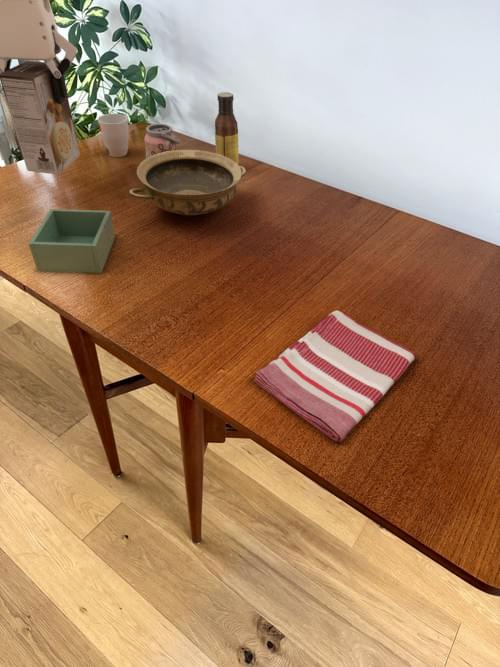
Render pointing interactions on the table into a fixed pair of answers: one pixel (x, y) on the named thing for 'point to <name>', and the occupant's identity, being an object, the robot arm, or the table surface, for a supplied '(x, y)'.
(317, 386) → the dish towel
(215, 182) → the ceramic bowl
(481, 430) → the table surface
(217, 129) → the sauce bottle
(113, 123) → the cup
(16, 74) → the coffee box
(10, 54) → the robot arm
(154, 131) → the pink jar
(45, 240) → the bin
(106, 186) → the table surface
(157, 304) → the table surface
